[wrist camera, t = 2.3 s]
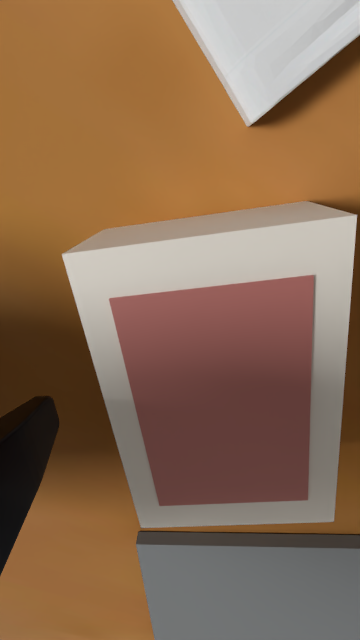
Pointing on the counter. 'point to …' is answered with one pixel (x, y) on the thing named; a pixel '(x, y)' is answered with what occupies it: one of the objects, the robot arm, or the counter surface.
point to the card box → (223, 359)
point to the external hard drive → (268, 44)
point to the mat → (251, 585)
